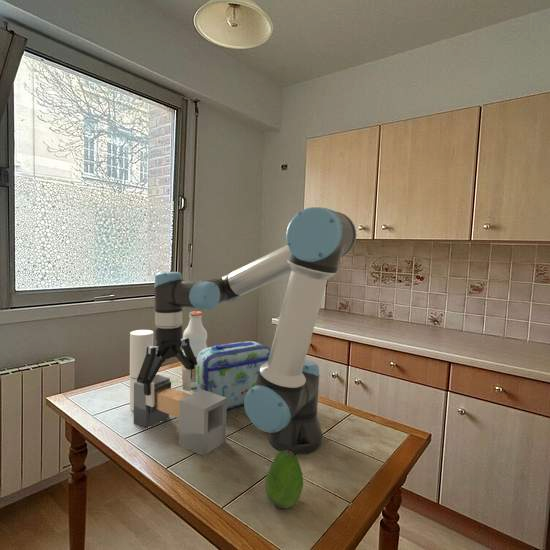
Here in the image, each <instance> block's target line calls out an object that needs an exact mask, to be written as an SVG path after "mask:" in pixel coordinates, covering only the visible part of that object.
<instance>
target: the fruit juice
mask: <svg viewBox="0 0 550 550" xmlns="http://www.w3.org/2000/svg"><path fill="white" fill-rule="evenodd" d="M188 317H189V322H188V325H187V326H186V328H185V329H184V331H183V332H182V337H184V338H189V341H190V346H191V349H192V351H193V354H194V356H195V358H196V360H197V356H198V354H199V353H200V352H201V351H202V350H203V349H205V348H208V344H207V340H208V332H207V329H206V328H205V327H204V325H203V322H202V317H203V312H202V311H199V310H198V311H197V310H196V311H195V310H193V311H189V313H188ZM182 352H183V354H184V355H185V353H184V350H183V349H182ZM185 357H186V355H185ZM186 358H187V357H186ZM181 364H182V363H181ZM194 366H195V369H192V378H191V389H194V388H195V389H196V365H194ZM181 367H182V369H181V384H182V385H183V369H184V368H185V367H184V365H183V364H182V366H181Z"/></svg>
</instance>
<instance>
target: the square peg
mask: <svg viewBox="0 0 550 550" xmlns="http://www.w3.org/2000/svg"><path fill="white" fill-rule="evenodd" d="M190 395H191V394H190V393H187V392H184V391H181V390H178V389H176V388H173V387H172V381H171V380H170V381H167V382H165V383H162V384H159V385H157V386H154V402H155V406H154V407H151V406H149V413H153V412H156V411H158V410H160V411H162V412H164V413H167V414H169V416H172V417H174V418H176V419H179V413H180V400H181V399H183V398H185V397H188V396H190Z"/></svg>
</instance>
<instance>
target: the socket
mask: <svg viewBox="0 0 550 550" xmlns="http://www.w3.org/2000/svg"><path fill="white" fill-rule="evenodd" d="M148 379H149V378H148ZM167 381H170V382H171V380H170V378H169V377H166V376H164V375H160V374H156V376H155V377H154V379H153V381H152V383H154V386H157V385H159V384H162V383H165V382H167ZM167 418H168V419H170V415H169V414H167V413H164V412H162V411H160V410H158V411H156V412H153V413H149V406H148V405H146V395H144V384H142V383H139V382H135V383H134V411H133V424H134V425H135V426H138V427H140V428H142V427H143V428H142V429H144V428H145V430H147V429H149V428H151V427H153V426H155V425H157V424H159V423H161V422H160V421H162V422H163V420H164V421H166V420H168V419H167ZM165 419H166V420H165ZM158 422H159V423H158ZM154 424H155V425H154ZM150 426H151V427H150ZM148 427H149V428H148ZM146 428H147V429H146Z"/></svg>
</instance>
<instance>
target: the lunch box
mask: <svg viewBox="0 0 550 550" xmlns="http://www.w3.org/2000/svg"><path fill="white" fill-rule="evenodd" d="M270 351H271V348H270V347H269V346H268V345H262V344H261V343H259V342H257V341H249V340H247V341H238V342H231V343H225V344H214V346H209V347H207V348H205V349H203V350H202V351H201V352H200V353H199V354H198V356H197V360H196V361H197V365H196V388H195V389H196V392H195V393H197V392H199V391H201V390H205V391H208V392H211V393H214V394H217V395H220V396H223V397H226V398H227V410H229V409H234V408H236V407H239V406H242V405H243V406H244V399H245V396H246V394H247V392H248V391H249V390H250V388H252V387H254V386H255V384H256V381H257V377H258V373H259V369H260V367H261V365H263V364H264V363H266V362H268V359H269V355H270Z"/></svg>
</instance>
